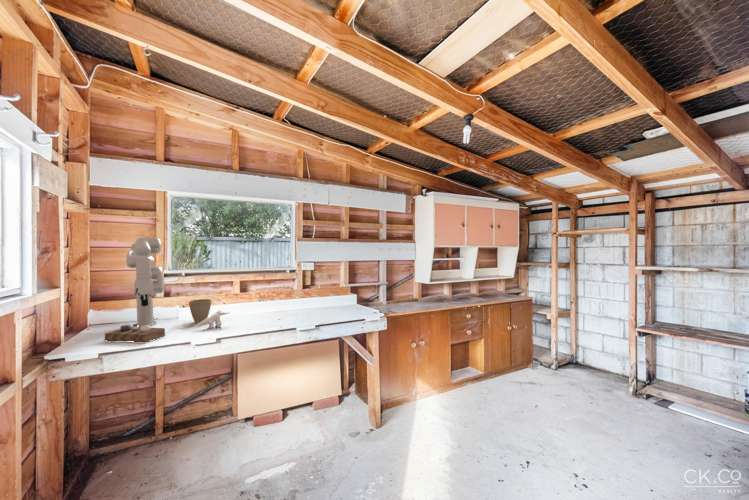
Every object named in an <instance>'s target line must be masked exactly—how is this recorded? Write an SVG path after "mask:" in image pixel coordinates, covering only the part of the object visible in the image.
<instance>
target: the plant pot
mask: <svg viewBox="0 0 749 500" xmlns="http://www.w3.org/2000/svg"><path fill="white" fill-rule="evenodd" d="M188 305H189V310H190V315H191V317H192V319H193V321H194V323H196V324H198V323H200V322H202V321H203V320H205V319H206V318H208V317H209V314H210V310H211V306H212V299H210V298H209V299H208V298H207V299H206V298H205V299H204V298H202V299H193V300H189V301H188Z"/></svg>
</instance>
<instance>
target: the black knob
mask: <svg viewBox="0 0 749 500" xmlns="http://www.w3.org/2000/svg"><path fill="white" fill-rule="evenodd" d="M130 327H131V324H124V325H120V329H121V331H122V332H123V331H129V330H130Z"/></svg>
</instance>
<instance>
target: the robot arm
mask: <svg viewBox="0 0 749 500" xmlns="http://www.w3.org/2000/svg"><path fill="white" fill-rule="evenodd" d="M161 250H162V243H161V239H160V238H158V237H139V238H137V239H136V240H135V242H134V243H132V244H131V246H130V251H128V253H126V257H125V258H126V260H125V263H126V266H127V267H128V268H131V269H135V270H136V271H135V272H136V273H135V277H136V278H135V279H134V282H133V295H134V296H135V298H136V299H135V300H136V301H135V302H136V320H137V321H136V324H138V327H141V326H145V325H150V327H151V326H154V325H156V324H157V321H156V320H158V319H159V317H158V316H154V301H153V298H152V297H151V296H152V295H155V294H157V295H158V294H162V293H164V291H165V281H164V278H165V277H164V268H163V267H161V266H159V265H155V263H156V262H155V261H156V260H155V258H154V257H153V256H152V255H158V254H160V253H161V252H162V251H161ZM153 265H155V266H153Z"/></svg>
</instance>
